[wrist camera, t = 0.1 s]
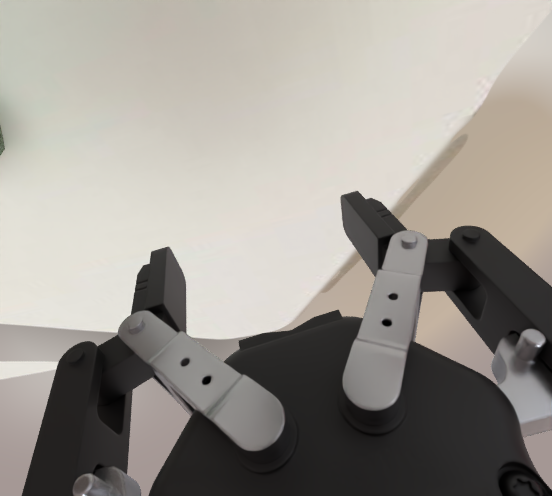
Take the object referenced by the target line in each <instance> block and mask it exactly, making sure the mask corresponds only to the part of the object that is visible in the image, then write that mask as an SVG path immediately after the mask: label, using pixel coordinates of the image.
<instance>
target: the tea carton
mask: <svg viewBox="0 0 552 496" xmlns="http://www.w3.org/2000/svg"><path fill="white" fill-rule="evenodd" d="M4 149H5V148H4V143H3V138H2V133H1V127H0V155H1V154H2V152H3V151H4Z"/></svg>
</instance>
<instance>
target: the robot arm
mask: <svg viewBox="0 0 552 496" xmlns="http://www.w3.org/2000/svg"><path fill="white" fill-rule="evenodd" d="M341 209H342V220H343V227H344V230H345V233H346V235H347V236H348V238H349V239H350V241H351V242H352V244H353V245H354V247H355V248H356V250H357V251H358V253H359V254H360V255H361V257H362V258H363V260H364V261H365V263H366V264H367V266H368V267H369V269H370V270H371V272H372V273H373V274H374V276H375V281H374V284H373V287H372V290H371V294H370V297H369V300H368V304H367V307H366V310H365V313H364V317H363V318H359V317H347V316H346V317H342V316H341V314H340V312H339V310H336V311H332V312H329V313H326V314H323V315H319V316H316V317H314V318H312V319H310V320H308V321H307V322H305V323H303V324H302V325H300V326H298V327H296V328H294V329H293V330H290V331H281V332H270V333H262V334H259V335H256V336H253V337H249V338H246V339H243V340H240V341H239V346H240V349H239V350H237V351H236V352H234V353H233V354H232V355H231V356H229V357H228V358H227V359H226V360H225V361H224V362H223V361H222V360H221V359H219V358H218V357H217V356H215V355H214V354H213V353H211V352H210V351H209V350H207V349H206V348H205V347H203V346H202V345H201V344H199V343H198V342H197V341H195V340H194V339H193V338H191V337H190V336H189V335H187V334H186V281H185V277H184V274H183V272H182V270H181V268H180V266H179V264H178V262H177V260H176V258H175V256H174V254H173V252H172V250H171V249H170V248H169V247H165V248H162V249H158V250H155V251H152V252H151V258H150V264H147V265H144V266H143V267H142V268H141V270H140V272H139V273H138V275H137V281H136V284H137V285H136V287H135V293H134V299H133V305H132V311H131V315H130V316H129V317H127V318H126V319H125V320H124V321H123V322H122V324H121V325H120V327H119V330H118V335H117V336H115V337H113V338H112V339H110V340H108V341H106V342H105V343H103V344H101V345H99V346H98V347H97V346H96V344H95V343H93V342H90V341H87V342H81V343H79V344H77V345H75V346H73V347H72V348H70V349H69V350H68V351H67V352H66V353H65V354H64V355H63V356H62V358H61V359H60V361H59V363H58V366H57V370H56V373H55V377H54V381H53V384H52V388H51V391H50V395H49V399H48V402H47V406H46V410H45V413H44V417H43V420H42V424H41V428H40V431H39V435H38V439H37V442H36V446H35V450H34V453H33V457H32V460H31V464H30V468H29V471H28V475H27V479H26V482H25V486H24V489H23V493H22V496H141V489H140V486H139V484H138V483H137V482H136V481H135V480H134V479H132V478H131V477H130V476H128V475H127V467H128V452H129V437H130V421H131V405H132V390H133V389H134V388H136V387H137V386H139V385H140V384H142V383H143V382H145V381H147V380H149V379H150V378H153V379H154V380H155V381H156V382H157V383H159V384H160V385H161V386H162V387H163V388H164V389H165V390H166V391H167V392H168V393H169V394H170V395H171V396H172V397H173V398H174V399H175V400H176V401H177V402H178V403H179V404H180V405H181V406H182V407H183V409H184V410H185V411H186V412H187V413H188V414H189V415H190V416H191V418H190V419H189V421H188V423H187V425H186V426H185V428H184V430H183V431H182V433H181V435H180V437H179V439H178V440H177V442H176V444H175V446H174V447H173V449H172V451H171V453H170V455H169V456H168V458H167V460H166V461H165V463H164V465H163V467H162V469H161V470H160V472H159V474H158V476H157V477H156V479H155V481H154V483H153V485H152V488H151V490H150V493H149V496H552V490H551V489H550V488H549V487H548V486H547V484H546V483H545V482H544V481H543V479H542V478H541V477H540V475H539V474H538V472H537V471H536V469H535V467H534V465H533V463H532V461H531V459H530V457H529V454H528V452H527V449H526V447H525V444H524V440H523V437H527V436H531V435H534V434H538V433H542V432H546V431H550V430H552V287H551V286H550V285H549V284H548V283H547V282H545V281H544V280H543V279H542V278H541V277H540V276H538V275H537V274H536V273H535V272H534V271H533V270H532V269H531V268H529V267H528V266H527V265H526V264H525V263H524V262H522V261H521V260H520V259H519V258H518V257H517V256H516V255H514V254H513V253H512V252H511V251H510V250H509V249H507V248H506V247H505V246H504V245H503V244H502V243H500V242H499V241H498V240H497V239H496V238H495V237H494V236H492V235H491V234H490V233H489V232H488V231H486V230H484V229H482V228H480V227H476V226H461V227H458V228H455V229H454V230H453V231H452V232H451V234H450V238H448V239H431V240H430V239H427V237H426V236H425V235H423V234H422V233H419V232H416V231H411V230H410V231H409V230H407V229H406V228H405V227H404V226H403V225H402V224H401V223H400V222H399V221H398V219H397V218H396V217H395V216H394V215H392V213H391V212H390V211H389V210H387V208H386V207H385V206H384V205H383V204H382V203H381V202H379V201H377V200H375V199H373V198H369V199H365V198H364V197H363V196H362V195H361V194H360V193H359V192H358V191H355V192H351V193H348V194H345V195H342V196H341ZM433 291H445V292H446V294H447V295H448V296H449V298H450V299H451V300H452V301H453V303H454V304H455V305H456V307H457V308H458V309H459V310H460V312H461V313H462V314H463V315H464V317H465V318H466V319H467V321H468V322H469V323H470V324H471V326H472V327H473V328H474V329H475V331H476V332H477V333H478V335H479V336H480V337H481V338H482V340H483V341H484V342H485V344H486V345H487V346H488V347H489V349H490V350H491V351H492V352H493V354H494V358H493V361H492V364H491V368H492V372H493V374H494V376H495V378H496V380H497V382H498V385H496V384H495V383H493V382H492V381H491V380H490V379H488V378H487V377H485V376H483V375H482V374H480V373H478V372H476V371H474V370H472V369H470V368H468V367H466V366H464V365H462V364H460V363H457V362H456V361H453V360H451V359H449V358H447V357H445V356H443V355H441V354H439V353H437V352H435V351H433V350H431V349H428V348H426V347H424V346H422V345H420V344H418V343H416V342H415V338H416V330H417V324H418V318H419V312H420V305H421V300H422V294H423V292H433Z"/></svg>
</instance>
